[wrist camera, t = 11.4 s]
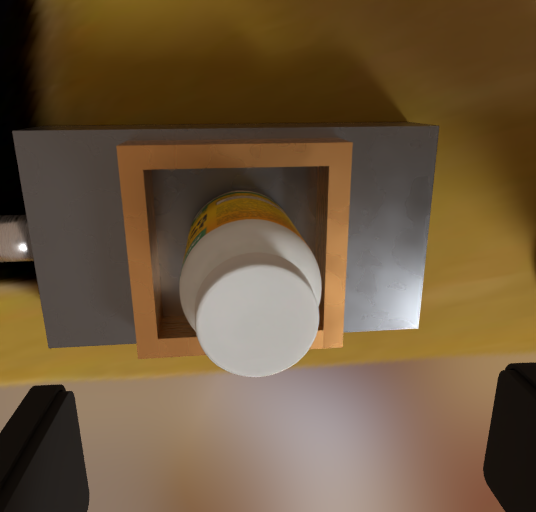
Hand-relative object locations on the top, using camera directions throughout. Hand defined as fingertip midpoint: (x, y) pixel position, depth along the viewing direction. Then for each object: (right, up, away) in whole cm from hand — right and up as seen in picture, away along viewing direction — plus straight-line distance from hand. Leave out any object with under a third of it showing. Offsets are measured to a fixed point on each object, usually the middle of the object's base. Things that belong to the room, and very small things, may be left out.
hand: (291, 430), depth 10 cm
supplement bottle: (-2, +5, +14) cm, 15 cm away
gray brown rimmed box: (-4, +6, +17) cm, 19 cm away
